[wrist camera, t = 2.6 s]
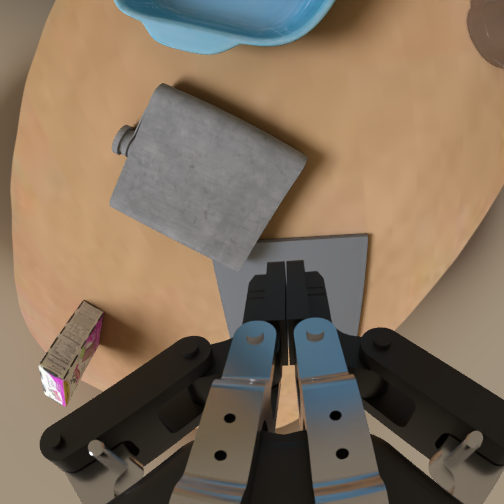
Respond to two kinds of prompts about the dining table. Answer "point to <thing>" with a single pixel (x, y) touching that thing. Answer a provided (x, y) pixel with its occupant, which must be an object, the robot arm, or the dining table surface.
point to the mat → (315, 259)
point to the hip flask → (202, 175)
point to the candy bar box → (71, 353)
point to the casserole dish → (225, 21)
